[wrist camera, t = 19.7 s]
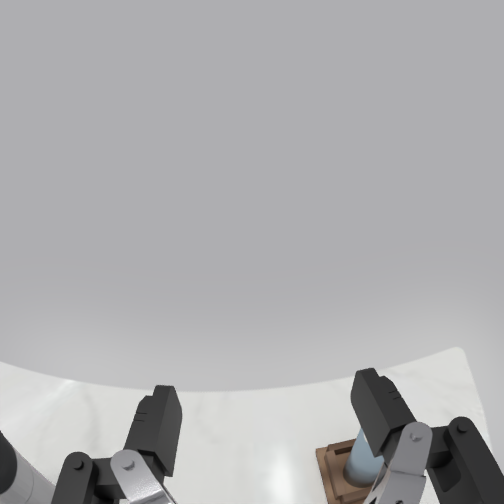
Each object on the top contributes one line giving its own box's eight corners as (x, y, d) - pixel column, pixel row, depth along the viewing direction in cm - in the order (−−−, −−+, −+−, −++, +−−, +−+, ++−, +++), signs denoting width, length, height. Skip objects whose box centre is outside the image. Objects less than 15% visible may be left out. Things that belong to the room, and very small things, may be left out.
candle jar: (369, 494, 22) (402, 453, 18) (333, 476, 26) (353, 430, 22) (392, 463, 26) (424, 413, 22) (358, 447, 30) (380, 395, 26)
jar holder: (409, 488, 21) (417, 480, 20) (330, 514, 21) (334, 509, 20) (385, 434, 32) (390, 424, 31) (315, 451, 32) (317, 442, 31)
